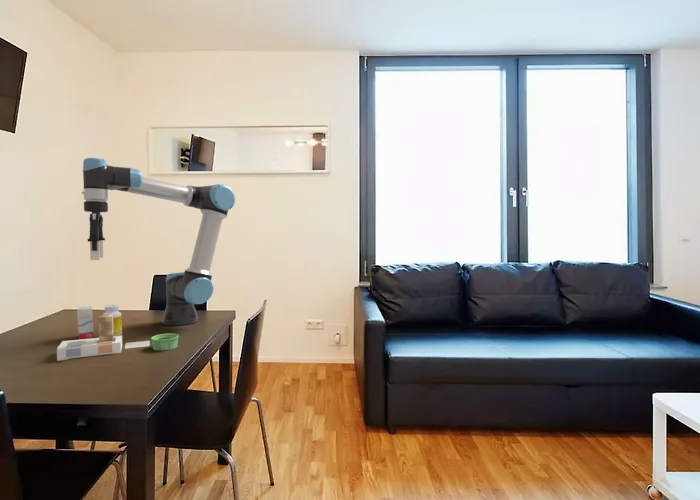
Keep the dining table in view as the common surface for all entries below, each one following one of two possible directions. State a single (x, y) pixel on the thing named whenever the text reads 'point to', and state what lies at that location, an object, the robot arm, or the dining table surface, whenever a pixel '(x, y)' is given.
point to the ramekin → (164, 341)
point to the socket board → (88, 348)
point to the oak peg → (106, 328)
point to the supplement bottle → (115, 319)
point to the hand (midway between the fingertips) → (97, 258)
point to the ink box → (85, 322)
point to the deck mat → (137, 344)
